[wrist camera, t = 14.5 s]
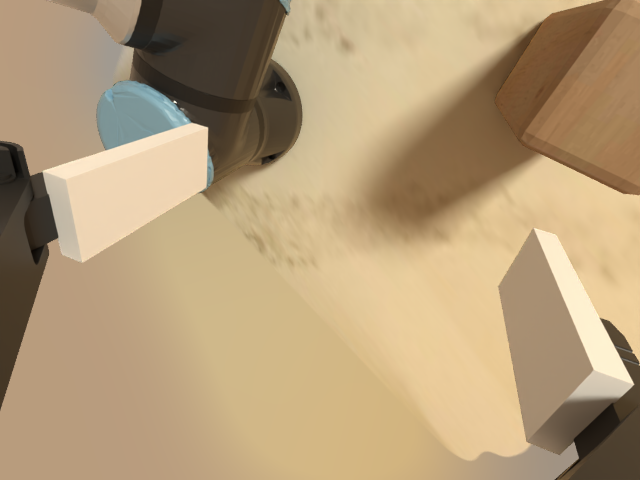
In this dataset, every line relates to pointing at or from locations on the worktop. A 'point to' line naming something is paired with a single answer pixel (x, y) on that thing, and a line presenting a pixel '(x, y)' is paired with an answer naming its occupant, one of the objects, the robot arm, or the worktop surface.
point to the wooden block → (582, 92)
